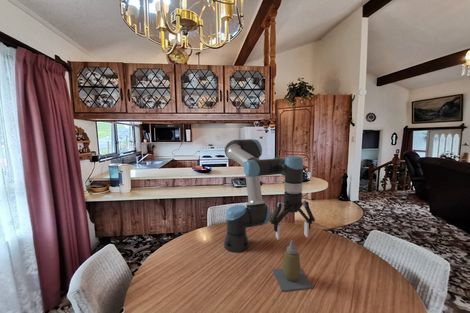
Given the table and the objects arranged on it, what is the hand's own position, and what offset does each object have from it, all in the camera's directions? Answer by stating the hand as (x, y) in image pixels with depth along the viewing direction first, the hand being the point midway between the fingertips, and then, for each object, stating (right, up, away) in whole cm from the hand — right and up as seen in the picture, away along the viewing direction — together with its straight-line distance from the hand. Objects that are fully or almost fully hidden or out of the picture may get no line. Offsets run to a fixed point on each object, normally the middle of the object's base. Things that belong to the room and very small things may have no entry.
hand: (291, 237), depth 96 cm
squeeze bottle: (0, -20, +2) cm, 20 cm away
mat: (0, -20, +2) cm, 20 cm away
